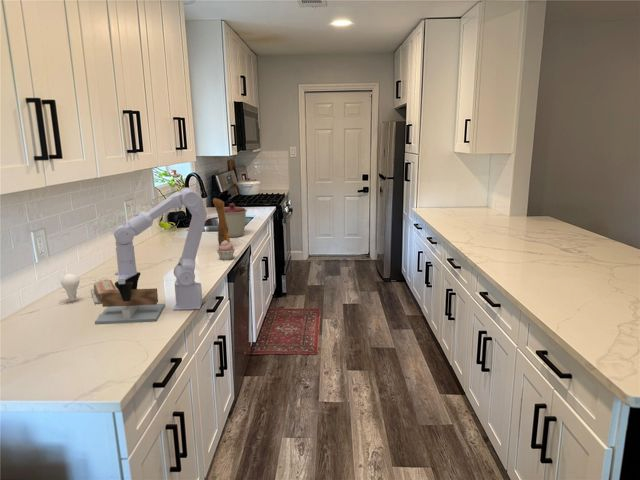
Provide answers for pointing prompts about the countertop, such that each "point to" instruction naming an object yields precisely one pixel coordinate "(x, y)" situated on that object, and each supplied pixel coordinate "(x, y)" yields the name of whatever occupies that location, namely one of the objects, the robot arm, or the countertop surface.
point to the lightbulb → (70, 285)
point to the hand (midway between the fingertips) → (129, 296)
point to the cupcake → (225, 251)
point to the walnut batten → (137, 297)
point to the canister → (235, 220)
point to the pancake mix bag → (221, 221)
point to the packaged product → (101, 290)
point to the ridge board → (137, 317)
